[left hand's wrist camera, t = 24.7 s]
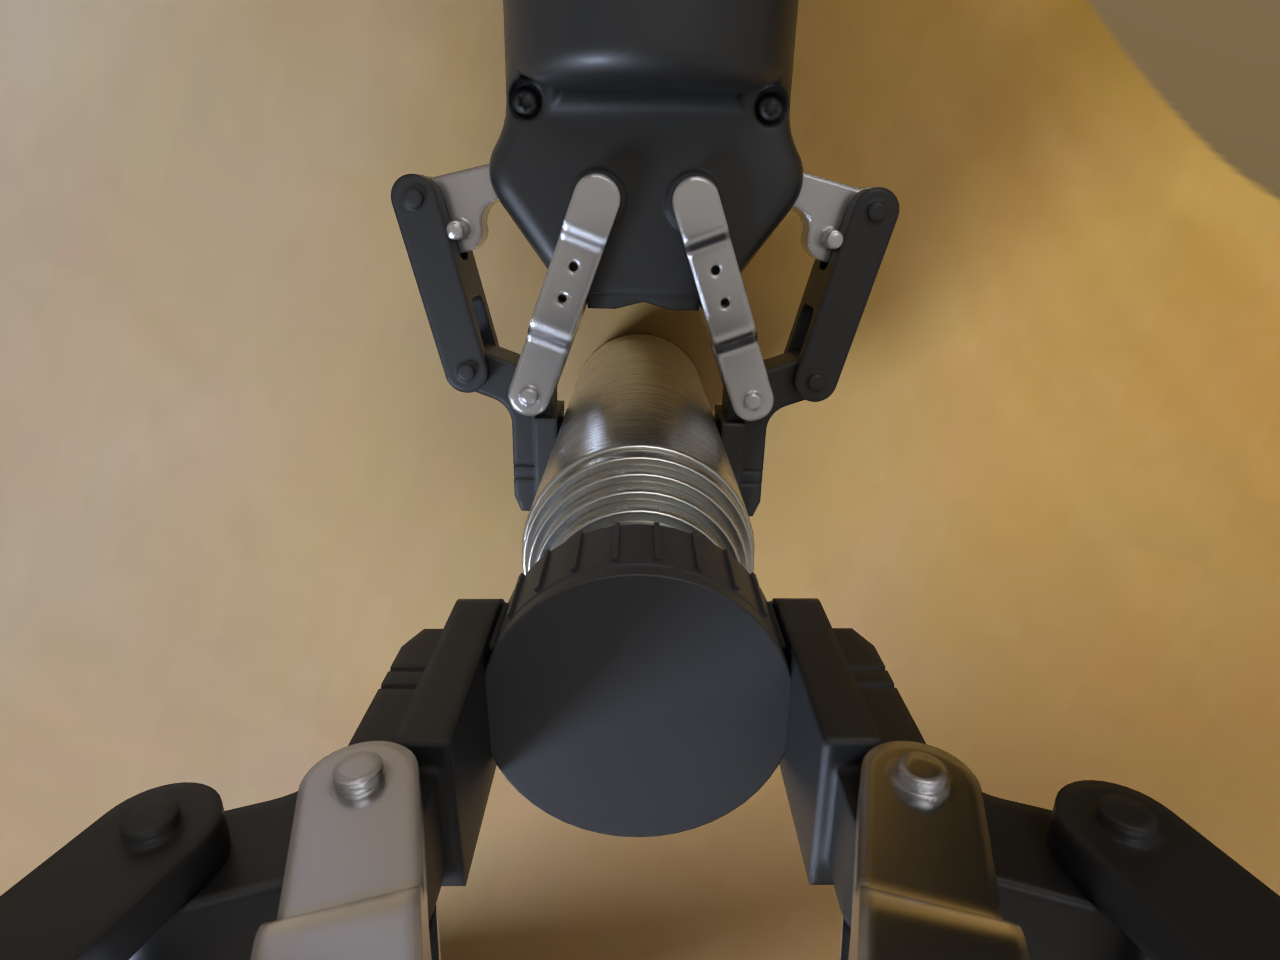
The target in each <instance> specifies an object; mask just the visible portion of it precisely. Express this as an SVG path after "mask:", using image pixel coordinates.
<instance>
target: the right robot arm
mask: <svg viewBox="0 0 1280 960" xmlns="http://www.w3.org/2000/svg"><path fill="white" fill-rule="evenodd" d="M503 4H504V34H505V64H506V94H507V107H506V117H505V122H504V126H503V129H502V132H501V135H500V138H499V140H498V142H497V144H496V146H495V148H494V150H493V152H492V155H491V159H490V164H488V165H483V166H479V167H475V168H471V169H467V170H463V171H458V172H454V173H450V174H446V175H442V176H437V177H429V176H423V175H417V174H407V175H404V176H401V177H400V178H399V179H398V180H397V181H396V182H395V183H394V185H393V187H392V191H391V201H392V205H393V208H394V211H395V214H396V217H397V221H398V224H399V227H400V230H401V234H402V237H403V240H404V243H405V246H406V250H407V253H408V256H409V259H410V262H411V266H412V269H413V272H414V275H415V279H416V282H417V285H418V288H419V291H420V295H421V298H422V301H423V304H424V308H425V311H426V314H427V317H428V320H429V324H430V327H431V330H432V333H433V336H434V340H435V343H436V346H437V349H438V353H439V356H440V359H441V362H442V365H443V369H444V372H445V375H446V378H447V380H448V382H449V383H450V384H451V386H452V387H454V388H455V389H457V390H458V391H461V392H466V393H469V392H474V391H475V392H478V393H481V394H483V395H486V396H489V397H491V398H494V399H496V400H498V401H500V402H501V403H502V404H503V405H505V407H506V408H507V409H508V411H509V413H510V415H511V418H512V428H513V457H514V486H515V497H516V499H517V501H518V503H519V506H520V508H521V510H524V511H530V510H531V507H532V504H533V501H534V499H535V496H536V493H537V490H538V488H539V485H540V482H541V480H542V477H543V474H544V471H545V469H546V466H547V463H548V460H549V458H550V455H551V452H552V449H553V447H554V444H555V441H556V438H557V436H558V433H559V430H560V427H561V425H562V422H563V419H564V401H557V385H558V382H559V379H560V376H561V374H562V371H563V368H564V365H565V363H566V360H567V357H568V354H569V351H570V349H571V346H572V343H573V340H574V338H575V335H576V333H577V330H578V327H579V325H580V322H581V319H582V317H583V314H584V311H585V308H586V306H587V304H588V308H609V309H616V308H620V307H624V306H628V305H632V304H636V303H640V302H646V303H650V304H653V305H656V306H660V307H663V308H666V309H670V310H692V311H699V310H700V314H701V317H702V320H703V323H704V326H705V329H706V332H707V335H708V338H709V341H710V344H711V347H712V351H713V354H714V357H715V361H716V364H717V367H718V370H719V374H720V377H721V380H722V383H723V399H722V405H715V414H714V420H715V423H716V426H717V428H718V431H719V434H720V437H721V440H722V442H723V445H724V448H725V451H726V454H727V457H728V459H729V462H730V465H731V468H732V471H733V473H734V476H735V479H736V482H737V485H738V488H739V490H740V493H741V496H742V499H743V502H744V504H745V507H746V510H747V513H748V516H753V514H754V512H755V510H756V508H757V506H758V504H759V502H760V496H761V482H762V470H763V460H764V448H765V436H766V427H767V423H768V421H769V419H770V417H771V416H772V415H773V414H774V413H775V412H776V411H777V410H778V409H780V408H782V407H784V406H787V405H790V404H793V403H796V402H799V401H802V400H808V401H812V402H818V401H822V400H824V399H826V398H828V397H829V396H830V395H831V394H832V393H833V391H834V390H835V388H836V385H837V383H838V380H839V377H840V374H841V372H842V369H843V366H844V363H845V361H846V358H847V355H848V352H849V350H850V347H851V344H852V341H853V339H854V336H855V333H856V330H857V328H858V325H859V322H860V319H861V317H862V314H863V311H864V308H865V306H866V303H867V300H868V297H869V295H870V292H871V289H872V287H873V284H874V281H875V278H876V276H877V273H878V270H879V267H880V265H881V262H882V259H883V256H884V254H885V251H886V248H887V245H888V243H889V240H890V237H891V234H892V232H893V229H894V226H895V223H896V221H897V218H898V214H899V203H898V200H897V198H896V196H895V195H894V194H893V193H892V192H891V191H890V190H888V189H886V188H881V187H863V188H855V187H852V186H848V185H845V184H842V183H838V182H835V181H832V180H828V179H825V178H821V177H818V176H815V175H811V174H808V173H804V172H803V166H802V162H801V159H800V156H799V154H798V152H797V149H796V147H795V145H794V142H793V138H792V134H791V129H790V121H789V110H790V95H791V83H792V71H793V59H794V47H795V35H796V23H797V11H798V0H503ZM498 201H500V202H501V203H502V205H503V206H504V208H505V209H506V210H507V212H508V213H509V215H510V216H511V218H512V219H513V220H514V222H515V223H516V225H517V226H518V227H519V229H520V230H521V232H522V233H523V235H524V236H525V237H526V239H527V240H528V242H529V243H530V244H531V246H532V247H533V249H534V250H535V252H536V253H537V254H538V256H539V257H540V259H541V260H542V261H543V263H544V264H545V266H546V267H547V269H548V271H547V274H546V277H545V280H544V283H543V286H542V289H541V292H540V295H539V298H538V301H537V304H536V307H535V310H534V313H533V316H532V319H531V322H530V325H529V329H528V335H527V338H526V341H525V344H524V347H523V350H522V353H521V355H520V354H517V353H515V352H512V351H509V350H507V349H504V348H501V347H499V344H498V340H497V336H496V333H495V329H494V326H493V322H492V319H491V315H490V312H489V308H488V305H487V301H486V297H485V294H484V290H483V287H482V283H481V280H480V276H479V273H478V269H477V266H476V262H475V258H474V255H473V251H472V250H476V249H478V248H480V247H481V246H482V245H483V244H484V243H485V241H486V239H487V236H488V224H487V218H488V213H489V211H490V209H491V207H492V206H493V205H494V204H495V203H497V202H498ZM790 209H793V210H794V211H796V212H797V214H798V215H799V217H800V219H801V222H802V234H801V245H802V248H803V250H804V251H805V253H806V254H807V255H808V256H810V257H811V258H814V259H815V262H814V265H813V268H812V271H811V274H810V276H809V279H808V282H807V285H806V288H805V291H804V294H803V297H802V300H801V303H800V306H799V309H798V312H797V315H796V318H795V321H794V324H793V327H792V330H791V333H790V336H789V339H788V342H787V345H786V348H785V351H784V354H781V355H778V356H775V357H772V358H769V359H766V360H763V358H762V355H761V351H760V348H759V344H758V340H757V332H756V327H755V324H754V320H753V316H752V313H751V309H750V306H749V302H748V299H747V295H746V292H745V288H744V285H743V281H742V278H741V274H740V273H741V272H742V271H743V270H744V268H745V267H746V266H747V264H748V263H749V262H750V261H751V259H752V258H753V257H754V256H755V254H756V253H757V252H758V250H759V249H760V248H761V247H762V245H763V244H764V243H765V241H766V240H767V239H768V238H769V236H770V235H771V234H772V232H773V231H774V230H775V229H776V227H777V226H778V225H779V224H780V222H781V221H782V220H783V218H784V217H785V216H786V215H787V213H788V212H789V211H790Z"/></svg>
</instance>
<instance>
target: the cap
mask: <svg viewBox="0 0 1280 960" xmlns="http://www.w3.org/2000/svg"><path fill="white" fill-rule="evenodd" d="M785 648H787V646H786V643H785V640H784V637H783V634H782V631H781V628H780V625H779V622H778V619H777V616H776V613H775V610H774V607H773V604H772V602H771V601H770V602H767V600H766V598H765V596H764V594H763V592H762V590H761V588H760V587H759V584H758V581H757V578H756V575H755V574H754V572H752V573H749V572H748V571H747V570H746V569H745V568H744V567H743V566H742V565H741V564H740V563H739V562H738V561H737V560H736V559H735V558H733V557H732V556H731V552H730V550H729V549H727V548H725V550H723V549H721V548H720V547H718V546H716V545H715V544H713V543H711V542H710V541H707V540H705V539H703V538H701V537H699V536H698V535H697V532H695V531H692V532H691V533H688V532H685V531H682V530H679V529H676V528H672V527H664V526H660V524H659V522H654V525H646V524H630V525H620V522H616V523H615V524H614V526H612V527H606V528H600V529H596V530H594V531H591V532H588V533H585V534H583V532H582V531H580V532H578V533H577V536H576V537H575V538H573V539H570V540H568V541H566V542H564V543H562V544H561V545H559V546H558V547H556V548H555V549H553V550H551V551H550V550H549V549H547V550H545V551H544V555H543V557H542V558H541V559H540V560H539V561H538V562H536V563H535V564H534V565H533V566H532V568H531V569H530V570H529V571H528V572H527V573H526V574H525V575H524V574H523V573H521V574H520V576H519V578H518V581H517V584H516V587H515V590H514V592H513V594H512V596H511V598H510V600H509V602H508V603H505V602H504V604H503V607H502V610H501V612H500V615H499V618H498V621H497V624H496V627H495V630H494V633H493V636H492V638H491V641H490V644H489V649H490V650H492V651H491V654H490V657H489V660H488V663H487V666H486V669H485V683H486V695H487V707H488V719H489V731H490V743H491V753H492V756H493V758H494V760H495V762H496V764H497V766H498V767H499V769H500V770H501V771H502V773H503V774H504V776H505V777H506V779H507V780H508V781H509V782H510V783H511V784H512V785H513V786H514V787H515V788H516V789H517V791H518V792H519V793H521V794H522V795H523V796H524V797H525V798H527V799H528V800H529V801H530V802H531V803H532V804H534V805H535V806H537V807H539V808H540V809H542V810H543V811H545V812H546V813H548V814H550V815H552V816H554V817H555V818H557V819H559V820H561V821H563V822H566V823H568V824H571V825H574V826H576V827H579V828H582V829H585V830H589V831H593V832H597V833H601V834H608V835H615V836H625V837H650V836H661V835H668V834H674V833H679V832H683V831H686V830H690V829H694V828H697V827H699V826H702V825H705V824H707V823H710V822H712V821H714V820H716V819H718V818H720V817H722V816H724V815H726V814H728V813H730V812H731V811H733V810H734V809H736V808H737V807H739V806H740V805H741V804H743V803H744V802H746V801H747V800H748V799H749V798H750V797H751V796H752V795H754V794H755V793H756V792H757V791H758V790H759V789H760V788H761V787H762V786H763V785H764V783H765V782H766V781H767V780H768V779H769V778H770V776H771V775H772V773H773V772H774V771H775V769H776V768H777V766H778V765H779V763H780V761H781V759H782V757H783V755H784V753H785V744H786V732H787V720H788V707H789V695H790V683H791V672H790V669H789V666H788V663H787V660H786V657H785V654H784V651H783V649H785Z"/></svg>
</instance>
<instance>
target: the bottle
mask: <svg viewBox="0 0 1280 960" xmlns="http://www.w3.org/2000/svg"><path fill="white" fill-rule="evenodd" d="M616 522H620V525H630V524H646V525H654V522H659V524H660V526H664V527H672V528H676V529H679V530H682V531H685V532H688V533H691V532H692V531H695V532H697V535H698V536H699V537H701V538H703V539H705V540H707V541H710V542H711V543H713V544H715V545H716V546H718V547H720V548H721V549H723V550H725V548H727V549H729V550H730V552H731V556H732V557H733V558H735V559H736V560H737V561H738V562H739V563H740V564H741V565H742V566H743V567H744V568H745V569H746V570H747V571H748V572H749V573H752V572H753V571H754V537H753V530H752V526H751V523H750V519H749V516H748V513H747V510H746V507H745V504H744V502H743V499H742V496H741V493H740V490H739V488H738V485H737V482H736V479H735V476H734V473H733V471H732V468H731V465H730V462H729V459H728V457H727V454H726V451H725V448H724V445H723V442H722V440H721V437H720V434H719V431H718V428H717V426H716V423H715V420H714V417H713V414H712V411H711V409H710V406H709V403H708V400H707V397H706V395H705V392H704V389H703V386H702V383H701V380H700V378H699V375H698V373H697V370H696V368H695V366H694V365H693V363H692V361H691V360H690V359H689V358H688V356H687V355H686V354H685V353H684V352H683V351H682V350H681V349H680V348H678V347H677V346H676V345H674V344H673V343H671V342H669V341H667V340H665V339H662V338H660V337H657V336H653V335H646V334H631V335H625V336H622V337H618V338H615V339H613V340H611V341H609V342H607V343H606V344H604V345H602V346H601V347H600V348H598V349H597V350H596V351H595V352H594V353H593V354H592V355H591V356H590V357H589V359H588V360H587V362H586V363H585V365H584V366H583V368H582V370H581V373H580V375H579V378H578V381H577V383H576V386H575V389H574V392H573V394H572V397H571V400H570V403H569V405H568V408H567V411H566V414H565V416H564V419H563V422H562V425H561V427H560V430H559V433H558V436H557V438H556V441H555V444H554V447H553V449H552V452H551V455H550V458H549V460H548V463H547V466H546V469H545V471H544V474H543V477H542V480H541V482H540V485H539V488H538V490H537V493H536V496H535V499H534V501H533V504H532V507H531V510H530V512H529V515H528V518H527V521H526V524H525V529H524V534H523V543H522V555H523V559H522V563H523V574H524V575H525V574H526V573H527V572H528V571H529V570H530V569H531V568H532V566H533V565H534V564H535V563H536V562H538V561H539V560H540V559H541V558H542V557H543V555H544V551H545V550H547V549H549V550H550V551H551V550H553V549H555V548H556V547H558V546H559V545H561V544H562V543H564V542H566V541H568V540H570V539H573V538H575V537H576V536H577V533H578V532H580V531H582V532H583V534H585V533H588V532H591V531H594V530H596V529H600V528H606V527H612V526H614V524H615V523H616Z"/></svg>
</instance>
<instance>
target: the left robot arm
mask: <svg viewBox="0 0 1280 960" xmlns="http://www.w3.org/2000/svg"><path fill="white" fill-rule="evenodd" d="M503 604H504V600H503V599H458V600H457V601H456V603H455V605H454V608H453V610H452V612H451V614H450V616H449V618H448V620H447V623H446V625H445V627H444V629H424V630H422V631H421V632H420V633H419V634H417V635H416V636H415V637H413V638H412V639H411V640H410V641H408V642H407V643H406V644H405V645H403V646H402V647H401V649H400V651H399V653H398V655H397V656H396V658H395V660H394V662H393V664H392V666H391V670H390V671H389V672H388V673H387V675H386V677H385V679H384V680H383V682H382V684H381V689H379V690H378V692H377V693H376V695H375V697H374V699H373V701H372V703H371V704H370V706H369V708H368V710H367V712H366V714H365V715H364V717H363V719H362V721H361V723H360V725H359V727H358V728H357V730H356V732H355V734H354V736H353V738H352V739H351V741H350V743H349V745H348V746H347V747H344V748H341V749H339V750H337V751H335V752H333V753H331V754H329V755H328V756H326V757H324V758H323V759H322V760H320V761H319V762H318V763H316V764H315V765H314V766H313V767H312V768H311V769H310V770H309V771H308V773H307V774H306V775H305V776H304V778H303V780H302V782H301V784H300V786H299V790H298V791H297V792H295V793H292V794H290V795H287V796H284V797H281V798H278V799H274V800H270V801H266V802H262V803H257V804H253V805H249V806H245V807H240V808H236V809H232V810H227V811H224V808H223V804H222V800H221V798H220V795H219V794H218V793H217V792H216V790H214V789H213V788H211V787H209V786H206V785H204V784H199V783H185V782H184V783H174V784H169V785H164V786H160V787H157V788H153V789H150V790H148V791H145V792H142V793H140V794H138V795H136V796H133V797H131V798H129V799H127V800H126V801H124V802H122V803H120V804H119V805H117V806H115V807H114V808H113V809H111V810H110V811H108V812H107V813H106V814H104V815H103V816H102V817H101V818H99V819H98V820H97V821H95V822H94V823H93V824H92V825H90V826H89V827H88V828H87V829H85V830H84V831H83V832H81V833H80V834H79V835H78V836H76V837H75V838H74V839H73V840H71V841H70V842H69V843H67V844H66V845H65V846H64V847H62V848H61V849H60V850H59V851H57V852H56V853H55V854H53V855H52V856H51V857H50V858H48V859H47V860H46V861H45V862H43V863H42V864H41V865H39V866H38V867H37V868H36V869H34V870H33V871H32V872H31V873H29V874H28V875H27V876H25V877H24V878H23V879H22V880H20V881H19V882H18V883H17V884H15V885H14V886H13V887H11V888H10V889H9V890H8V891H6V892H5V893H4V894H3V895H1V896H0V960H441V951H440V935H439V925H438V917H437V909H436V902H437V898H438V895H439V892H440V888H441V886H466V882H467V878H468V874H469V870H470V866H471V863H472V859H473V855H474V851H475V847H476V843H477V839H478V835H479V831H480V827H481V824H482V820H483V816H484V812H485V808H486V804H487V800H488V796H489V792H490V788H491V785H492V781H493V777H494V773H495V769H496V765H497V764H496V762H495V760H494V758H493V756H492V753H491V743H490V731H489V719H488V707H487V695H486V683H485V669H486V666H487V663H488V660H489V657H490V654H491V651H492V650H490V649H489V644H490V641H491V638H492V636H493V633H494V630H495V627H496V624H497V621H498V618H499V615H500V612H501V610H502V607H503ZM772 604H773V607H774V610H775V613H776V616H777V619H778V622H779V625H780V628H781V631H782V634H783V637H784V640H785V643H786V646H787V648H785V649H783V651H784V654H785V657H786V660H787V663H788V666H789V669H790V672H791V683H790V695H789V707H788V720H787V732H786V744H785V753H784V755H783V757H782V759H781V761H780V763H779V764H780V768H781V772H782V776H783V780H784V784H785V788H786V792H787V796H788V800H789V804H790V808H791V812H792V816H793V820H794V824H795V828H796V832H797V836H798V840H799V844H800V848H801V852H802V856H803V860H804V864H805V868H806V872H807V876H808V880H809V884H810V885H834V888H835V891H836V895H837V898H838V902H839V905H840V909H841V912H842V914H843V917H842V924H841V935H840V951H839V960H1280V896H1279V895H1277V894H1276V893H1275V892H1274V891H1272V890H1271V889H1270V888H1268V887H1267V886H1266V885H1265V884H1263V883H1262V882H1261V881H1260V880H1258V879H1257V878H1256V877H1254V876H1253V875H1252V874H1251V873H1249V872H1248V871H1247V870H1246V869H1244V868H1243V867H1242V866H1240V865H1239V864H1238V863H1237V862H1235V861H1234V860H1233V859H1232V858H1230V857H1229V856H1228V855H1226V854H1225V853H1224V852H1223V851H1221V850H1220V849H1219V848H1218V847H1216V846H1215V845H1214V844H1212V843H1211V842H1210V841H1209V840H1207V839H1206V838H1205V837H1204V836H1202V835H1201V834H1200V833H1199V832H1197V831H1196V830H1195V829H1193V828H1192V827H1191V826H1190V825H1188V824H1187V823H1186V822H1185V821H1183V820H1182V819H1181V818H1179V817H1178V816H1177V815H1176V814H1174V813H1173V812H1172V811H1170V810H1169V809H1168V808H1166V807H1165V806H1163V805H1162V804H1160V803H1159V802H1157V801H1155V800H1154V799H1152V798H1150V797H1148V796H1146V795H1144V794H1142V793H1140V792H1138V791H1135V790H1133V789H1130V788H1128V787H1125V786H1121V785H1118V784H1114V783H1109V782H1104V781H1095V780H1083V781H1077V782H1073V783H1070V784H1068V785H1066V786H1064V787H1063V788H1062V789H1061V790H1060V791H1059V792H1058V794H1057V796H1056V799H1055V803H1054V807H1053V811H1052V810H1047V809H1043V808H1039V807H1035V806H1030V805H1026V804H1022V803H1017V802H1013V801H1009V800H1005V799H1001V798H997V797H994V796H990V795H988V794H985V793H982V790H981V787H980V784H979V782H978V780H977V778H976V776H975V775H974V774H973V773H972V771H971V770H970V769H969V768H968V767H967V766H966V765H965V764H964V763H962V762H961V761H960V760H958V759H957V758H956V757H954V756H952V755H951V754H949V753H947V752H945V751H943V750H941V749H939V748H936V747H933V746H930V745H927V744H926V743H925V741H924V739H923V737H922V735H921V733H920V731H919V729H918V728H917V726H916V724H915V722H914V720H913V718H912V716H911V714H910V713H909V711H908V709H907V707H906V705H905V703H904V701H903V699H902V698H901V696H900V694H899V692H898V690H897V688H894V683H893V681H892V679H891V677H890V675H889V673H888V671H885V666H884V664H883V662H882V660H881V658H880V656H879V654H878V653H877V651H876V649H875V647H874V646H873V645H872V644H871V643H870V642H868V641H867V640H866V639H864V638H863V637H862V636H861V635H859V634H858V633H857V632H856V631H854V630H853V629H852V628H832V627H831V625H830V622H829V620H828V618H827V616H826V614H825V611H824V609H823V607H822V605H821V603H820V601H819V600H818V599H812V598H774V599H773V600H772Z"/></svg>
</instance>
